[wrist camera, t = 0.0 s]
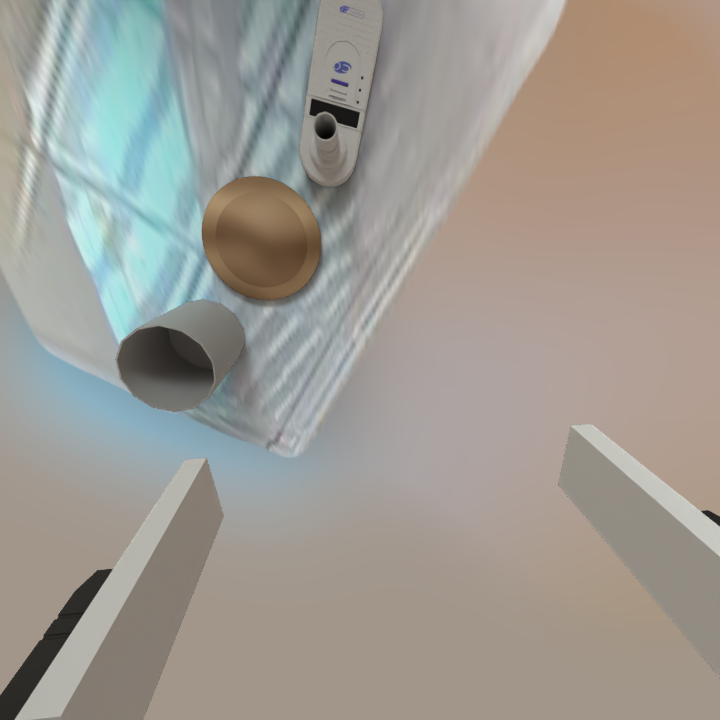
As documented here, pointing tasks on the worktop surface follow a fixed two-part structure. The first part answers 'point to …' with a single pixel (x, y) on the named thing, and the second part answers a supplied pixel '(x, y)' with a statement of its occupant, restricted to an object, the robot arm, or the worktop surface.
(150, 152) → the worktop surface
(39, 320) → the worktop surface
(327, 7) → the electronic device
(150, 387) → the cup
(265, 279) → the plate
